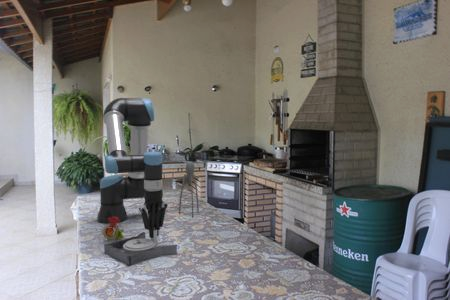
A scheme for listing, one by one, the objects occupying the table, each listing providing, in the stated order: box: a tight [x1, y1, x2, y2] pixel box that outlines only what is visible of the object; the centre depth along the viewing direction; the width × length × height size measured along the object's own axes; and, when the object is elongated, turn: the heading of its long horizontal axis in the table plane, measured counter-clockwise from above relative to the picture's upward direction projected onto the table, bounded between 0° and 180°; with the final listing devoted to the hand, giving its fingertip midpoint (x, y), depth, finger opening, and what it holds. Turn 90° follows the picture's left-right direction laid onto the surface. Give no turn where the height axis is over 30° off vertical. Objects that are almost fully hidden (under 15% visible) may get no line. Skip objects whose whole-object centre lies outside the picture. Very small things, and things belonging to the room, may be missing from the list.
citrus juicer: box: [178, 161, 200, 218], centre depth 210 cm, size 11×10×30 cm
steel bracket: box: [104, 231, 178, 267], centre depth 153 cm, size 24×21×4 cm
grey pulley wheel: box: [123, 238, 156, 255], centre depth 153 cm, size 13×13×5 cm
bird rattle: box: [102, 216, 124, 242], centre depth 168 cm, size 6×11×9 cm
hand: (154, 244), depth 159 cm, fingers closed
